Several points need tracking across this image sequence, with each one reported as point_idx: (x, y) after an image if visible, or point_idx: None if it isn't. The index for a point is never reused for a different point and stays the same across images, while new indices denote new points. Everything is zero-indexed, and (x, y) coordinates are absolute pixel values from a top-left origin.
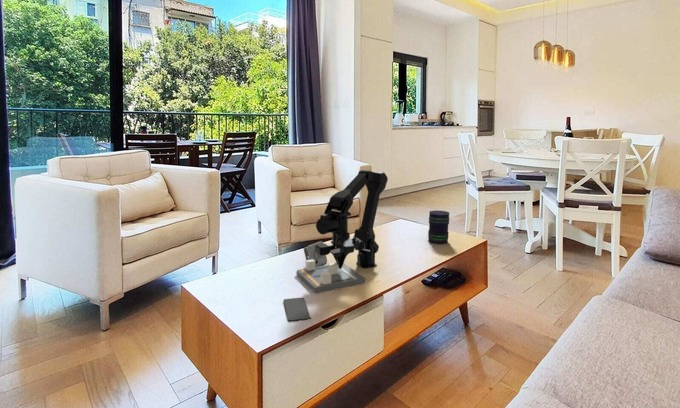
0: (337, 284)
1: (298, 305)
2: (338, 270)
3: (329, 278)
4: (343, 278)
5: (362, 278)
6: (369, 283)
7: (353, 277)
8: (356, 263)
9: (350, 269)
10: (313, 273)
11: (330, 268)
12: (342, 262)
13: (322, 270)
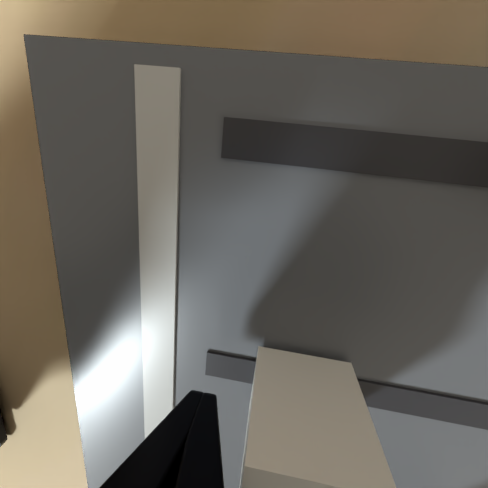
0: (480, 74)
1: None
2: None
3: None
4: (288, 195)
5: (65, 45)
6: (43, 35)
7: (160, 144)
8: (6, 438)
9: (90, 358)
10: (467, 483)
11: (372, 449)
12: (140, 479)
13: None
